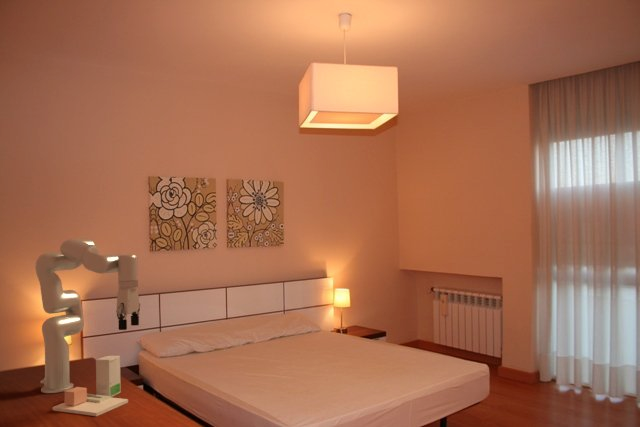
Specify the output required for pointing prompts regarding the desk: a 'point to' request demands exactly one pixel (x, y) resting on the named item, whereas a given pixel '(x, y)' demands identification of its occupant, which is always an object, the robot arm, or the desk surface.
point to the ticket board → (92, 405)
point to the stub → (75, 396)
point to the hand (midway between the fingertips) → (129, 327)
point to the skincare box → (108, 376)
